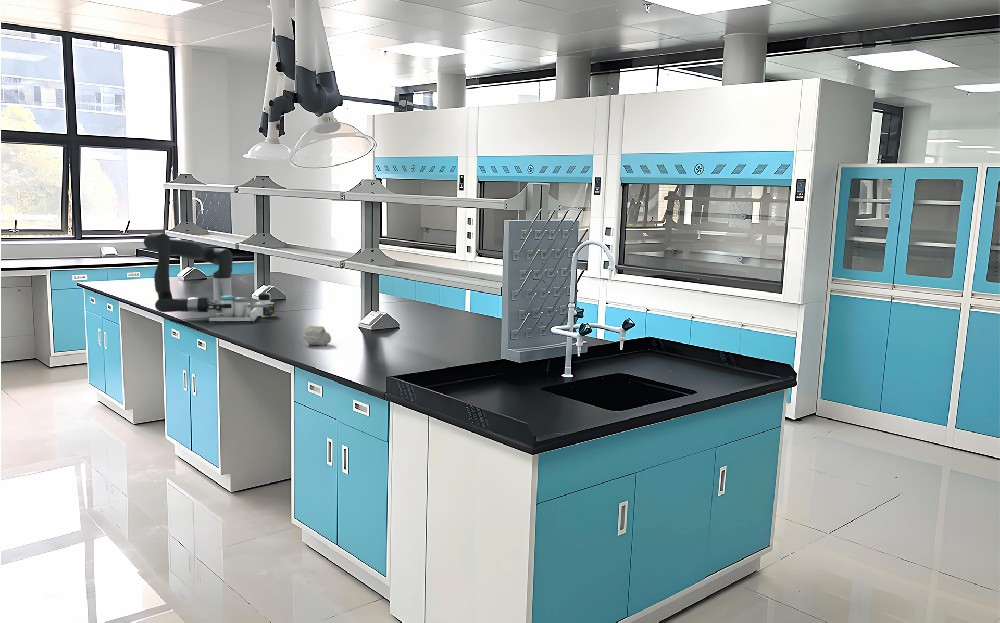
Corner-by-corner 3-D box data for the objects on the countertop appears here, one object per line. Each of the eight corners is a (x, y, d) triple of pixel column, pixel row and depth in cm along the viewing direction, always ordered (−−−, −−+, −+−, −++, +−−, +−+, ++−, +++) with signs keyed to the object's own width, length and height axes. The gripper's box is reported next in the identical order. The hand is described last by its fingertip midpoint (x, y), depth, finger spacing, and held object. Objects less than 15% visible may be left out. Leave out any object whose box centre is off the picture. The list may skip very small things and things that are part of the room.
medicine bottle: (263, 317, 399) (262, 294, 397) (255, 315, 403) (254, 293, 401) (274, 315, 404) (274, 293, 403) (266, 314, 409) (266, 292, 407)
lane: (215, 316, 397) (215, 307, 396) (257, 316, 400) (257, 307, 400) (208, 322, 381) (208, 312, 381) (252, 322, 385) (252, 312, 384)
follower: (248, 317, 397) (248, 302, 396) (270, 317, 399) (270, 302, 397) (245, 321, 387) (244, 305, 386) (267, 321, 389) (267, 305, 387)
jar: (222, 316, 393) (222, 295, 391) (235, 316, 394) (235, 295, 392) (220, 318, 387) (219, 297, 385) (233, 318, 388) (232, 297, 386)
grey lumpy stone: (331, 347, 334) (329, 344, 343) (332, 328, 333) (330, 326, 343) (303, 346, 330) (301, 343, 339) (304, 327, 329) (302, 324, 339)
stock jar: (234, 317, 394) (235, 296, 392) (247, 318, 395) (247, 297, 393) (232, 320, 388) (232, 298, 386) (245, 320, 389) (246, 299, 387)
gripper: (194, 299, 379) (229, 299, 382) (201, 295, 393) (235, 295, 396) (195, 314, 381) (230, 314, 383) (201, 309, 395) (235, 310, 397)
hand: (232, 305), depth 390 cm, fingers closed on jar, 6 cm apart
